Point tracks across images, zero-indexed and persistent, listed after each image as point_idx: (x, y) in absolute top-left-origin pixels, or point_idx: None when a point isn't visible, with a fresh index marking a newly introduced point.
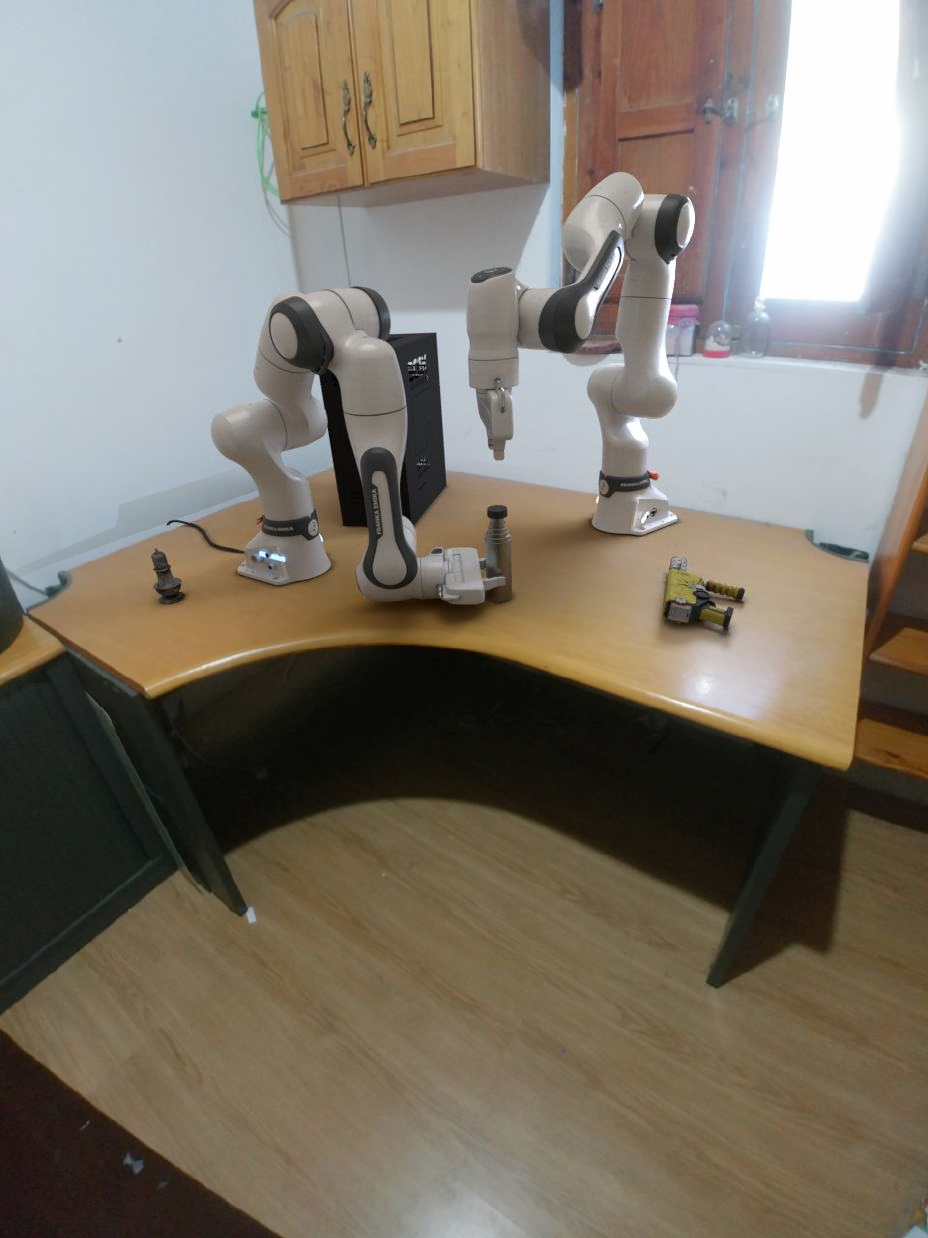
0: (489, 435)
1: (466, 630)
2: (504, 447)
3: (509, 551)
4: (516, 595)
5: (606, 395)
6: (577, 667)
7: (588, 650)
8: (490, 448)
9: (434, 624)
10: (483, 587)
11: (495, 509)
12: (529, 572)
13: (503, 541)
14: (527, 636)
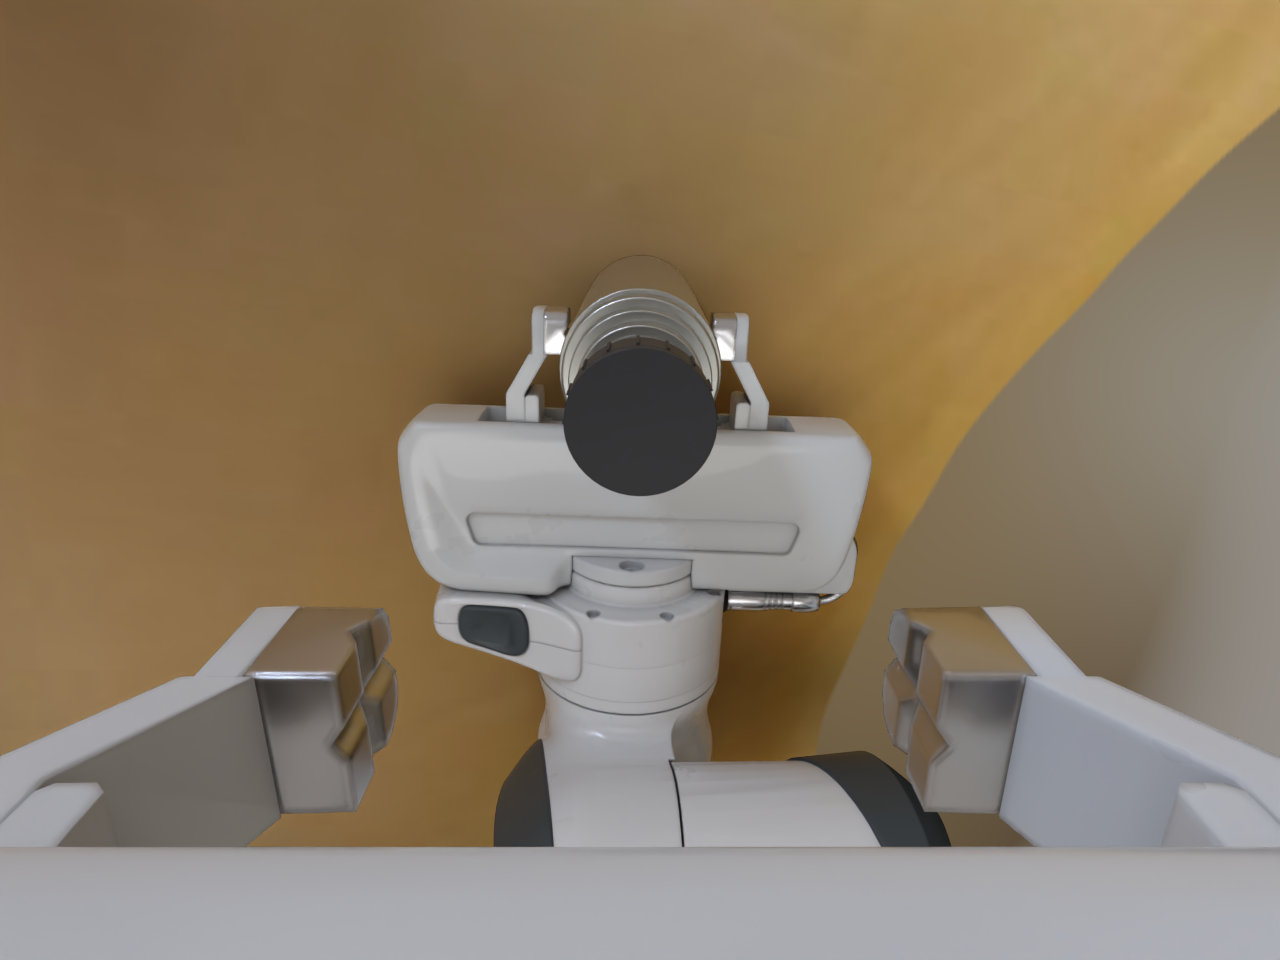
0: (212, 838)
1: (880, 472)
2: (1172, 712)
3: (689, 298)
4: (643, 233)
5: None
6: (1275, 95)
7: (1183, 11)
8: (390, 707)
9: None
10: (858, 440)
11: (663, 440)
12: (410, 122)
13: (716, 349)
14: (994, 249)
